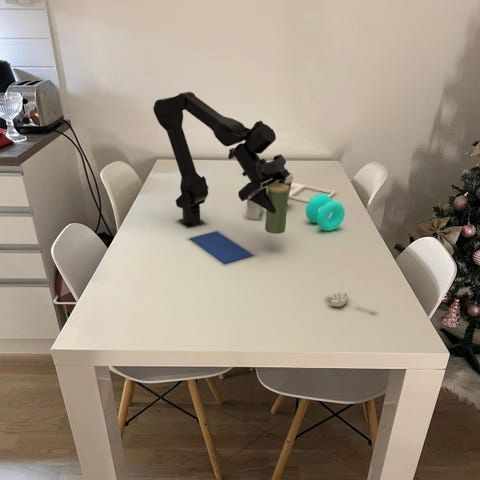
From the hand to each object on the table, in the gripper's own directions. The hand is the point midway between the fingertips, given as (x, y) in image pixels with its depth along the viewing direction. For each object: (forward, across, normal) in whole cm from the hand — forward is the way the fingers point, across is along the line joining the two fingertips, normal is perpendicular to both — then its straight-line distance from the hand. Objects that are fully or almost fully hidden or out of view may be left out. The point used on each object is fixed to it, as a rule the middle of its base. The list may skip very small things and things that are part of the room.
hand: (280, 209), depth 141 cm
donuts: (+11, +26, +9) cm, 29 cm away
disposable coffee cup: (-4, +31, +24) cm, 39 cm away
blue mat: (-1, -8, +20) cm, 22 cm away
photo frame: (-4, +48, +23) cm, 54 cm away
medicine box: (-6, +19, +25) cm, 32 cm away
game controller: (+32, -14, -13) cm, 37 cm away
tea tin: (+4, 0, +6) cm, 7 cm away
